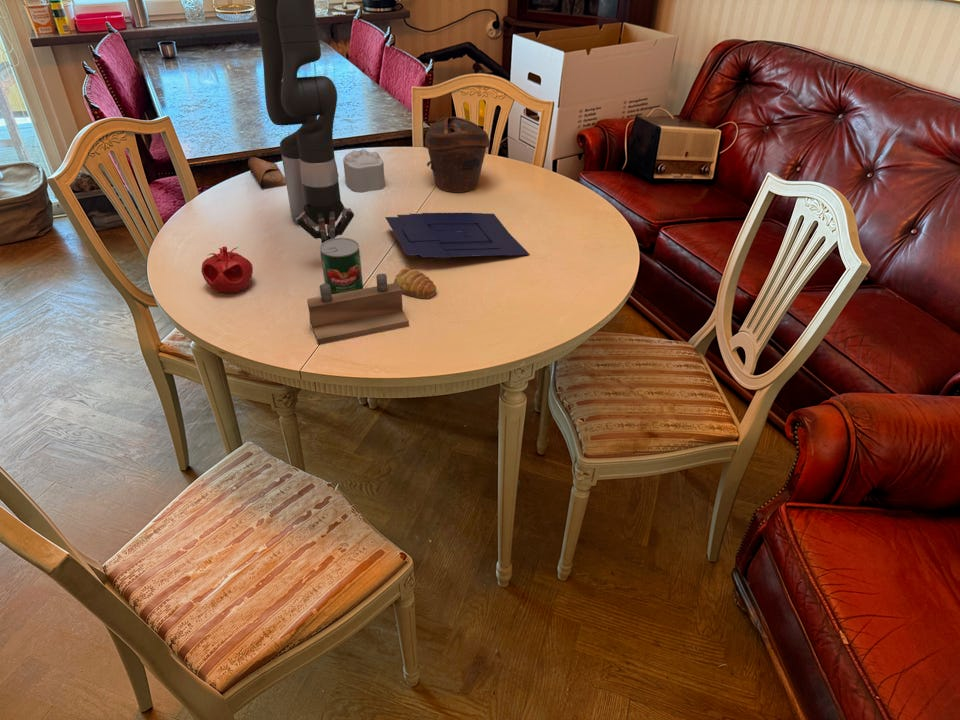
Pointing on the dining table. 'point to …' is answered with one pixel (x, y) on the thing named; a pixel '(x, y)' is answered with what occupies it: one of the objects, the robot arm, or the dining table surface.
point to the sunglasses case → (266, 173)
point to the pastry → (415, 283)
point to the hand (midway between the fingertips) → (329, 252)
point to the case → (456, 153)
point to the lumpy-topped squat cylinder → (364, 171)
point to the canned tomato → (341, 265)
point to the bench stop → (356, 311)
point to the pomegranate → (227, 271)
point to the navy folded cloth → (453, 235)
